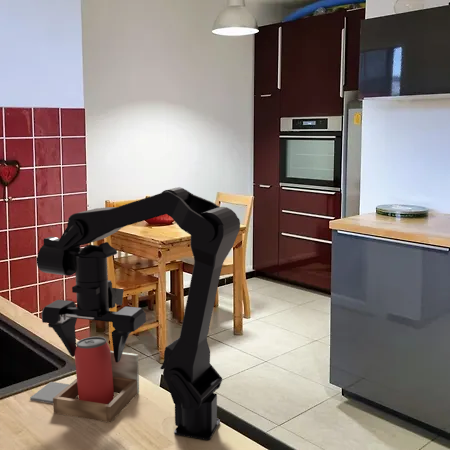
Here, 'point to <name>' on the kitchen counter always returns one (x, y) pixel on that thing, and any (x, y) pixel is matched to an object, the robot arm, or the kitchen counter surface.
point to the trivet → (48, 392)
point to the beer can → (94, 370)
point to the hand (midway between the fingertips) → (95, 358)
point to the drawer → (123, 384)
